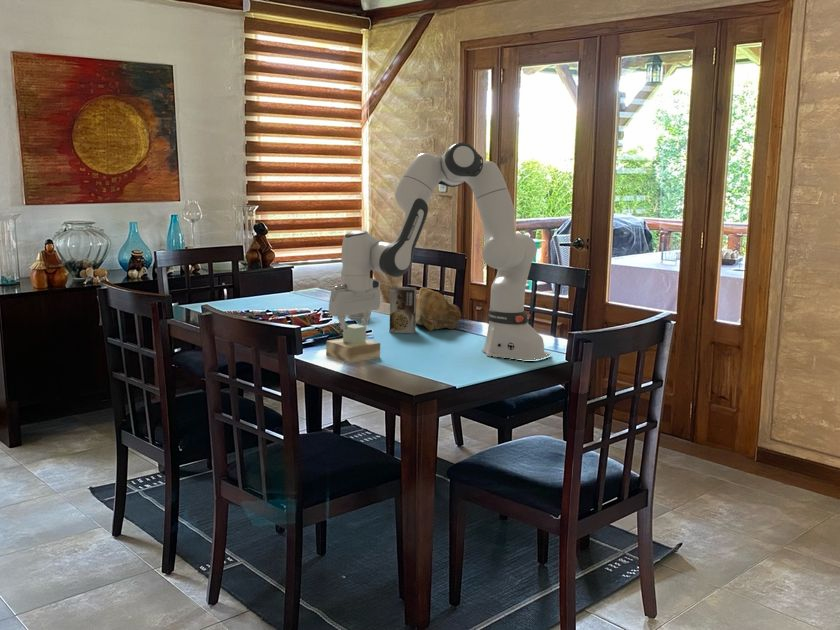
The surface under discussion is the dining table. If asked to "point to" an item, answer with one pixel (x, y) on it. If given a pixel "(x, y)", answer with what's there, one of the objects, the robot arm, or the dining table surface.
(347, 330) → the sage cube
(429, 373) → the dining table surface
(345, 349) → the maple block
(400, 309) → the coffee box
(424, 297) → the rough brown rock
